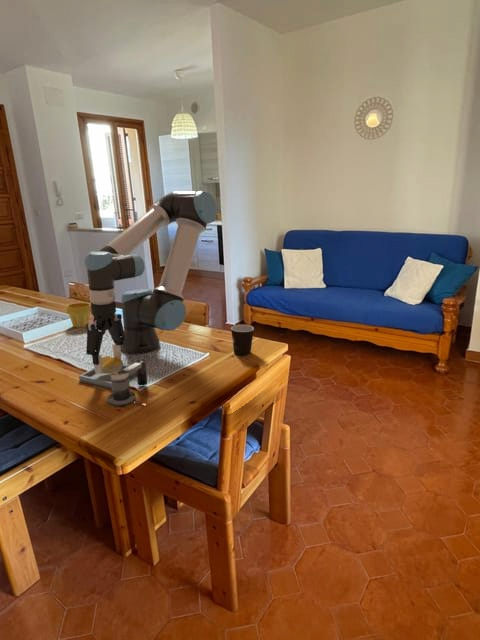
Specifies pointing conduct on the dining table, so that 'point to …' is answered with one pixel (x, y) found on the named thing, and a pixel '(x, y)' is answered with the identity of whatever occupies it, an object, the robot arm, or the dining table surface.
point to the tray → (100, 378)
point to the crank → (124, 374)
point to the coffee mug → (242, 339)
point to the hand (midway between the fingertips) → (108, 367)
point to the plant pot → (79, 314)
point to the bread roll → (111, 364)
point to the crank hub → (122, 395)
